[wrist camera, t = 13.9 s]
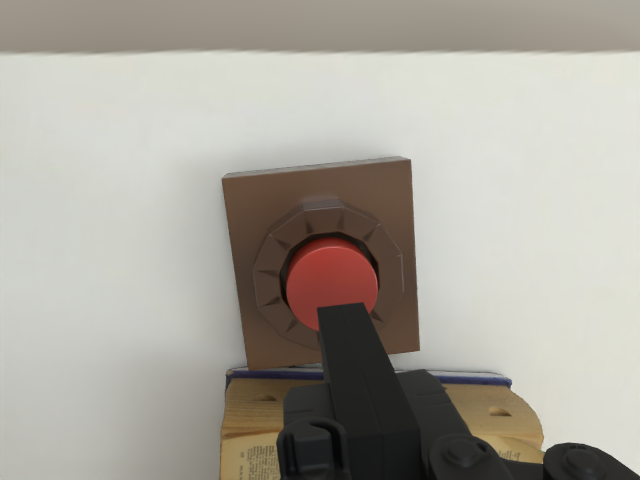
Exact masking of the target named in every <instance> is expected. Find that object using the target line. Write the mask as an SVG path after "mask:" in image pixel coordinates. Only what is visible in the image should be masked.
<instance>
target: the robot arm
mask: <svg viewBox="0 0 640 480" xmlns="http://www.w3.org/2000/svg"><path fill="white" fill-rule="evenodd" d="M317 315H318V325H319V335H320V345H321V355H322V365H323V375H324V383H322V384H314V385H306V386H298V387H291V388H290V390H289V391H288V393H287V394H286V396H285V397H284V399H283V424H284V426H283V429H282V431H281V432H280V433H279V434H278V437H277V441H276V446H277V454H278V462H279V469H280V477H281V478H280V480H640V476H639V475H637V474H636V473H635V472H633V471H632V470H630V469H629V468H628V467H626V466H625V465H623V464H622V463H621V462H619V461H618V460H616V459H615V458H614V457H612V456H611V455H609V454H607V453H605V452H603V451H602V450H600V449H598V448H595V447H591V446H588V445H585V444H579V443H562V444H556V445H554V446H552V447H551V448H549V449H547V451H546V453H545V455H544V457H543V464H540V463H530V462H520V461H514V460H508V459H505V458H502V457H500V456H499V455H498V453H497V452H496V450H495V449H494V448H493V447H492V446H491V445H490V444H489V443H488V442H486V441H484V440H482V439H480V438H478V437H476V436H473V435H472V434H471V432H470V430H469V429H468V427H467V425H466V424H465V422H464V420H463V419H462V417H461V415H460V414H459V412H458V410H457V409H456V407H455V406H454V404H453V403H452V402H451V399H450V397H449V396H448V394H447V393H446V392H445V389H444V387H443V386H442V384H441V382H440V381H439V379H438V378H437V377H435V376H434V375H432V374H430V373H429V372H427V371H426V370H424V369H423V370H415V371H407V372H399V373H395V371H394V369H393V367H392V364H391V362H390V360H389V358H388V355H387V353H386V351H385V349H384V347H383V344H382V342H381V340H380V338H379V336H378V333H377V331H376V329H375V327H374V324H373V322H372V320H371V318H370V316H369V313H368V311H367V309H366V307H365V304H364V302H359V303H351V304H342V305H333V306H325V307H317Z"/></svg>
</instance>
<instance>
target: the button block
mask: <svg viewBox="0 0 640 480" xmlns="http://www.w3.org/2000/svg"><path fill="white" fill-rule="evenodd" d="M222 185H223V192H224V199H225V206H226V214H227V221H228V228H229V235H230V242H231V249H232V256H233V263H234V271H235V278H236V285H237V292H238V299H239V306H240V313H241V321H242V328H243V335H244V342H245V349H246V356H247V363H248V370H249V371H253V370H262V369H270V368H278V367H287V366H295V365H304V364H312V363H321V362H322V355H321V345H320V335H319V331H316V330H313V329H311V328H309V327H307V326H306V325H304V324H303V323H302V322H300V321H299V320H298V319H297V318H296V316H295V315H294V314H293V312H292V310H291V308H290V306H289V303H288V300H287V292H286V275H287V270H288V266H289V264H290V261H291V260H292V258H293V256H294V255H295V254H296V252H297V251H298V250H299V249H300V248H302V247H303V246H304V245H306V244H307V243H309V242H311V241H313V240H316V239H319V238H325V237H335V238H341V239H344V240H347V241H349V242H351V243H353V244H354V245H356V246H357V247H358V248H359V249H360V250H361V251H362V252H363V253H364V254H365V256H366V258H367V259H368V261H369V263H370V264H371V266H372V268H373V269H374V272H375V274H376V277H377V282H378V294H377V299H376V302H375V305H374V307H373V309H372V310H371V312H370V313H369V316H370V318H371V320H372V322H373V324H374V327H375V329H376V331H377V333H378V336H379V338H380V340H381V342H382V344H383V347H384V349H385V351H386V353H387V355H388V354H397V353H405V352H414V351H420V342H419V321H418V299H417V278H416V256H415V235H414V213H413V192H412V170H411V159H407V158H404V157H400V156H398V157H388V158H378V159H368V160H357V161H347V162H337V163H327V164H317V165H307V166H297V167H287V168H277V169H267V170H256V171H246V172H236V173H227V174H226V175H225V176H224V177H223V178H222Z"/></svg>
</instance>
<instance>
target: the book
mask: <svg viewBox="0 0 640 480" xmlns="http://www.w3.org/2000/svg"><path fill="white" fill-rule="evenodd" d="M399 372H407V371H395V373H399ZM427 372H429V373H430V374H432V375H434V376H435V377H437V378H438V379H439V381H440V382H441V384H442V386H443V387H444V389H445V392H446V393H447V394H448V396H449V397H450V399H451V402H452V403H453V404H454V406H455V407H456V409H457V410H458V412H459V414H460V415H461V417H462V419H463V420H464V422H465V424H466V425H467V427H468V429H469V430H470V432H471V434H472V435H473V436H476V437H478V438H480V439H482V440H484V441H486V442H488V443H489V444H490V445H491V446H492V447H493V448H494V449H495V450H496V452H497V453H498V455H499V456H500V457H502V458H505V459H508V460H514V461H520V462H530V463H540V464H541V463H542V462H543V457H544V455H545V453H546V452H543V451H541V446H542V442H543V440H544V436H543V430H542V426H541V424H540V420H539V418H538V417H537V415H536V413H535V412H534V411H533V409H532V408H531V407H530V406H529V405H528V404H527V403H526V402H525V401H524V400H523V399H522V398H521V397H519V396H518V395H517V394H515V393H513V392H512V391H511V390H510V387H511V385H512V380H511V379H508V378H507V377H505V376H502V375H499V374H492V373H470V372H445V371H427ZM322 383H324V375H323V369H320V368H287V367H285V368H284V367H278V368H270V369H262V370H253V371H249V370H248V367H247V368H236V369H229V370H227V372H226V389H225V413H224V419H223V423H222V426H221V444H220V447H221V451H220V476H219V480H280V478H281V477H280V469H279V462H278V454H277V446H276V441H277V437H278V434H279V433H280V432H281V431H282V429H283V426H284V424H283V399H284V397H285V396H286V394H287V393H288V391H289V390H290V388H291V387H298V386H306V385H314V384H322Z"/></svg>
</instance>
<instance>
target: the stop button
mask: <svg viewBox="0 0 640 480" xmlns="http://www.w3.org/2000/svg"><path fill="white" fill-rule="evenodd" d="M286 292H287V300H288V303H289V306H290V308H291V310H292V312H293V314H294V315H295V316H296V318H297V319H298V320H299V321H300V322H302V323H303V324H304V325H306V326H307V327H309V328H311V329H313V330H316V331H319V325H318V315H317V307H325V306H333V305H342V304H351V303H359V302H364V304H365V307H366V309H367V311H368V313H370V312H371V310H372V309H373V307H374V305H375V302H376V299H377V294H378V282H377V277H376V274H375V272H374V269H373V268H372V266H371V264H370V263H369V261H368V259H367V258H366V256H365V254H364V253H363V252H362V251H361V250H360V249H359V248H358V247H357V246H356V245H354V244H353V243H351V242H349V241H347V240H344V239H341V238H335V237H325V238H319V239H316V240H313V241H311V242H309V243H307V244H306V245H304V246H303V247H302V248H300V249H299V250H298V251H297V252H296V254H295V255H294V256H293V258H292V260H291V261H290V264H289V266H288V270H287V275H286Z"/></svg>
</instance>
